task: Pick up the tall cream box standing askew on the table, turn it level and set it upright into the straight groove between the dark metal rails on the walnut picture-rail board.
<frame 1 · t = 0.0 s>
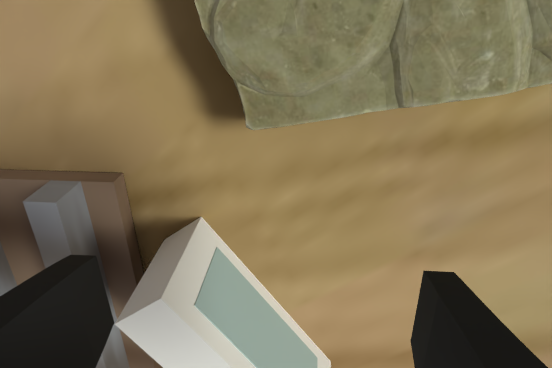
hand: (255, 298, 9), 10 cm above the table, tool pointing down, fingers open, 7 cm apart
tall cream box: (253, 302, 23), on the table
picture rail: (78, 331, 25), on the table
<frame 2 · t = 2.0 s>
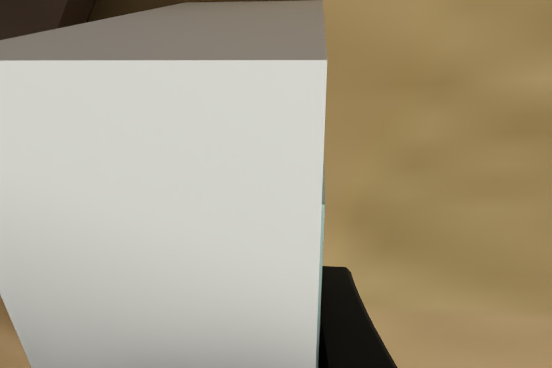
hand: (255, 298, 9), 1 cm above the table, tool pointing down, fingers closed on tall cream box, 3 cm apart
tall cream box: (263, 257, 10), on the table, touching gripper
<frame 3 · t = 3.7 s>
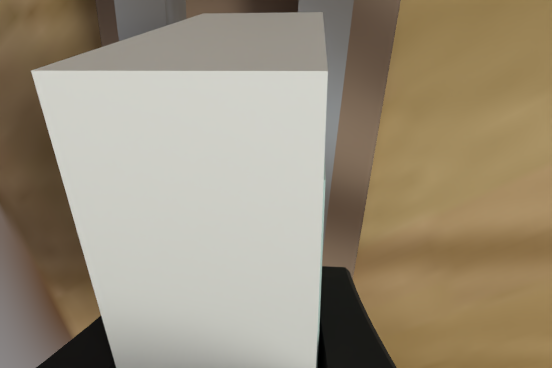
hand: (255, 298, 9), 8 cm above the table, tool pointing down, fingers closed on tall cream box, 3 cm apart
tall cream box: (269, 242, 12), point 6 cm above the table, touching gripper
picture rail: (245, 179, 17), on the table
when the fingers open (4 cm above the table, at t = 5.4 s): tall cream box stays where it is, resting on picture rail.
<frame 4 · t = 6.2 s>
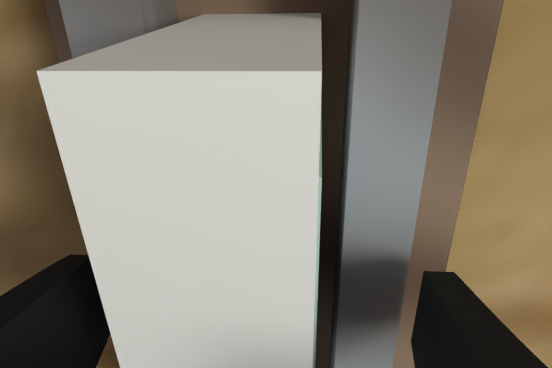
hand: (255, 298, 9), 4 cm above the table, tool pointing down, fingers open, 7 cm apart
tall cream box: (268, 240, 12), point 1 cm above the table, touching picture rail
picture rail: (273, 239, 13), on the table
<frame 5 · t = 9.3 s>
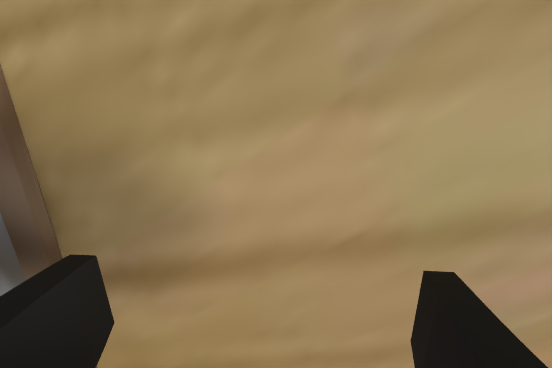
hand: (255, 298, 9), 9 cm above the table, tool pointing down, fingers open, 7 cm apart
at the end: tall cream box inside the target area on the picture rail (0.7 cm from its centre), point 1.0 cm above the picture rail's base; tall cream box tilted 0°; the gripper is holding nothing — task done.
